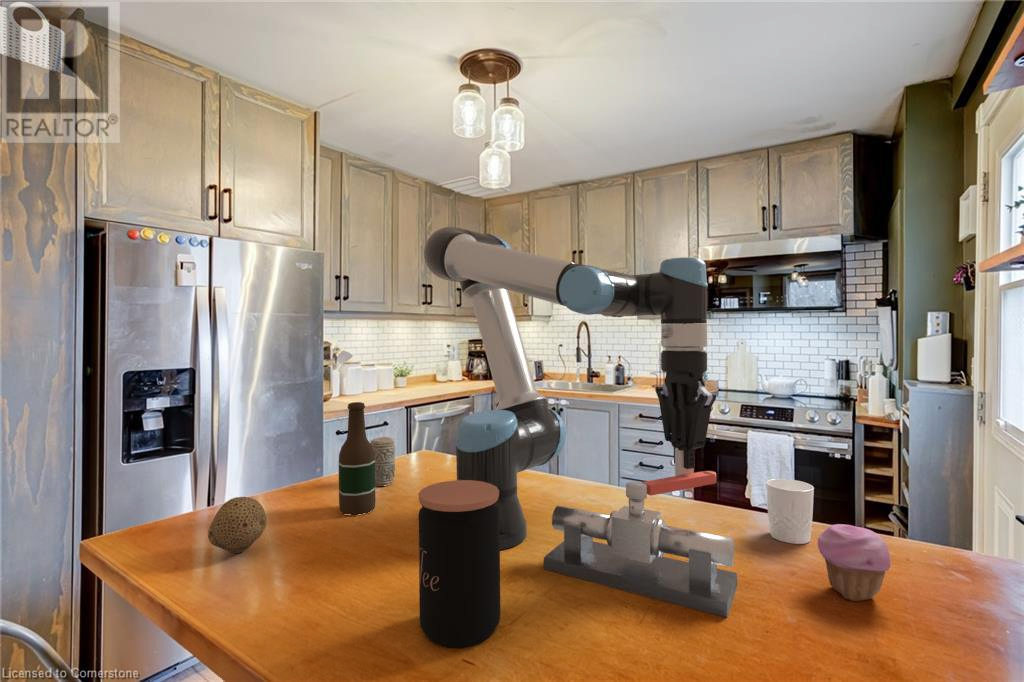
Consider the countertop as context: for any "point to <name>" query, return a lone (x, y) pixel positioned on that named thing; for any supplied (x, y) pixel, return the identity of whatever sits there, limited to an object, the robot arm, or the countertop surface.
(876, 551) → the cupcake
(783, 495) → the white cup
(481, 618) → the coffee jar
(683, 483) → the valve lever
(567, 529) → the valve stand
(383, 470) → the carving
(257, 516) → the natural sponge
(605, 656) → the countertop surface
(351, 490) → the beer bottle
